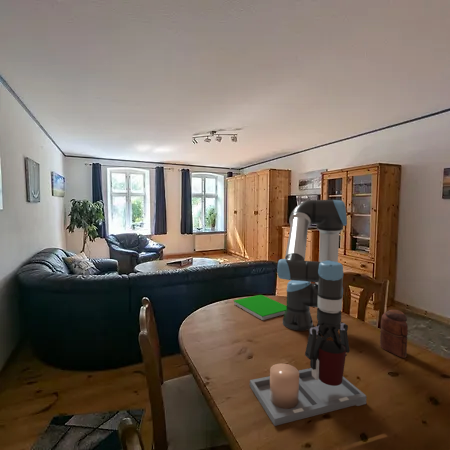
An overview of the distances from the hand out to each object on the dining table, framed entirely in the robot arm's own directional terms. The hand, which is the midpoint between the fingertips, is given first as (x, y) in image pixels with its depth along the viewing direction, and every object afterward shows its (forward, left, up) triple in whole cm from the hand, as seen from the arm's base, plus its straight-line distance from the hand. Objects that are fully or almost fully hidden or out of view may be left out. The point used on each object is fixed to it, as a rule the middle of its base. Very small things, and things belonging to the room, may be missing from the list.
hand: (326, 375), depth 94 cm
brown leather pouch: (-44, -13, -6) cm, 46 cm away
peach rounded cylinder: (+16, 0, -5) cm, 17 cm away
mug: (0, 0, -1) cm, 1 cm away
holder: (+8, 0, -6) cm, 10 cm away
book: (-11, -74, -6) cm, 75 cm away
